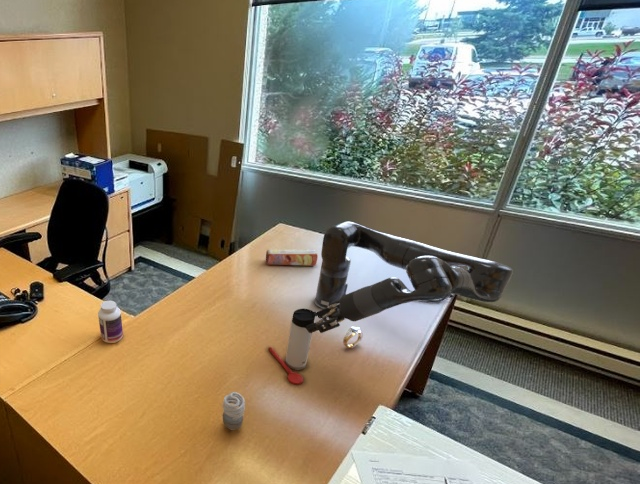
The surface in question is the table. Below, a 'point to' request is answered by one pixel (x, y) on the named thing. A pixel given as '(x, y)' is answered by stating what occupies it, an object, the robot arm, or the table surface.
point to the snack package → (291, 257)
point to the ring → (356, 331)
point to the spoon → (288, 370)
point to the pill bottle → (110, 322)
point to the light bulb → (233, 410)
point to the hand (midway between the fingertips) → (312, 322)
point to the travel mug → (299, 339)
